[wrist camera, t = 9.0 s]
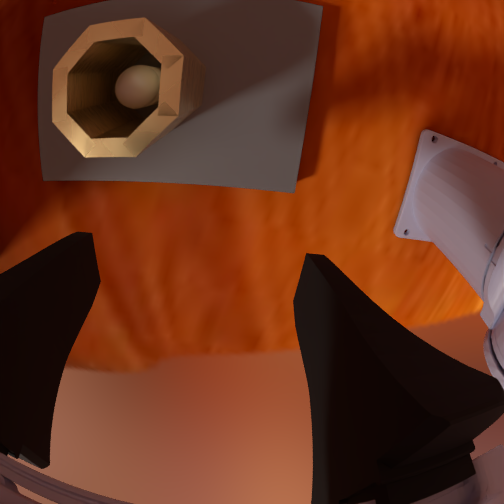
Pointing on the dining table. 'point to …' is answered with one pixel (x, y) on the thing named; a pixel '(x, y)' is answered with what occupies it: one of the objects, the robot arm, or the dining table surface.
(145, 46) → the wooden collar
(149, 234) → the dining table surface
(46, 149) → the pin board
